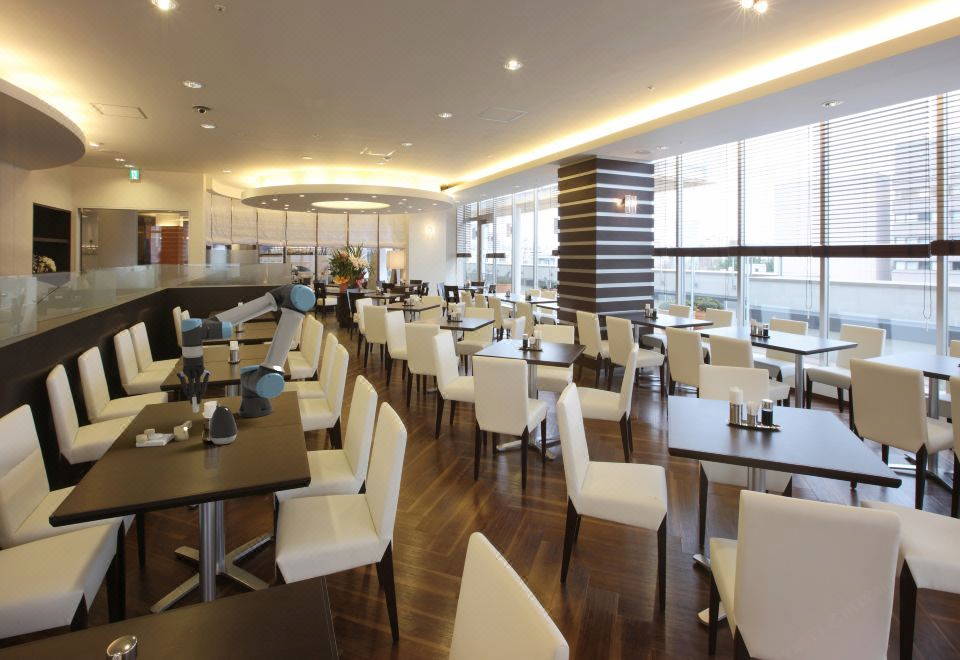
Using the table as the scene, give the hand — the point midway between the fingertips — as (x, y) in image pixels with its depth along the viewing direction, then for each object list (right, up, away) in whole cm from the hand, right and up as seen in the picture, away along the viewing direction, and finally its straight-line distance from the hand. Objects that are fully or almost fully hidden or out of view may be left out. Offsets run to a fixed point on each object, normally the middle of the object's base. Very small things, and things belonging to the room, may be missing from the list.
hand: (196, 411), depth 226 cm
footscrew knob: (-3, -10, -3) cm, 11 cm away
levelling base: (-11, -11, -8) cm, 18 cm away
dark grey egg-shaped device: (+16, -11, -10) cm, 22 cm away
